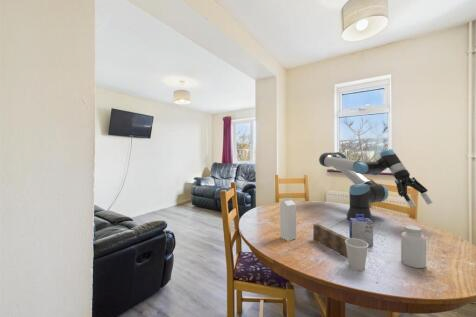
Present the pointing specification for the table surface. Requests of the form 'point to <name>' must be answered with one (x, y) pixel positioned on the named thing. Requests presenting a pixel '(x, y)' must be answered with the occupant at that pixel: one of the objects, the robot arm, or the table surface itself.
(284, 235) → the milk
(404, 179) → the robot arm
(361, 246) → the dixie cup
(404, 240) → the pill bottle
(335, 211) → the table surface
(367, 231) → the ink cartridge box
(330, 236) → the walnut board
